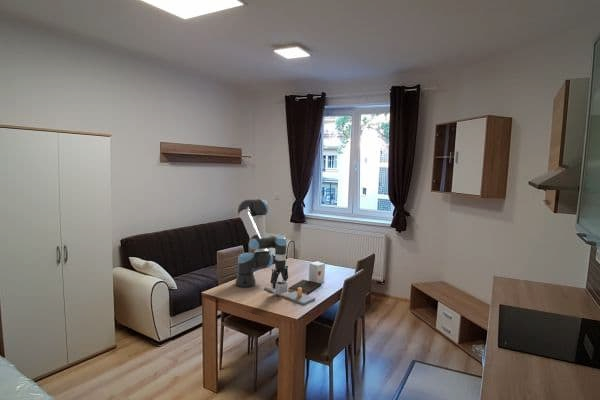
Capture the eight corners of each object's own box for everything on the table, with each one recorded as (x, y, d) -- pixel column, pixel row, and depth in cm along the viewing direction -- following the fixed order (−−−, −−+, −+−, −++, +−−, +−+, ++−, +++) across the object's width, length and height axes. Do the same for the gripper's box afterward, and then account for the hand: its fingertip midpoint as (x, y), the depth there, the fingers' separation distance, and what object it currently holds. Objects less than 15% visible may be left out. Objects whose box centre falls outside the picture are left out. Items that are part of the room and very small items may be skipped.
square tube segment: (271, 291, 238) (271, 282, 237) (279, 288, 244) (279, 280, 243) (279, 294, 233) (279, 286, 232) (287, 291, 239) (287, 283, 238)
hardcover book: (287, 291, 248) (288, 288, 248) (302, 282, 268) (302, 279, 268) (307, 295, 241) (307, 292, 240) (321, 286, 261) (321, 283, 261)
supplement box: (316, 284, 263) (317, 265, 261) (308, 281, 269) (309, 262, 268) (324, 282, 269) (325, 263, 267) (316, 279, 275) (317, 261, 274)
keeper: (283, 297, 234) (284, 287, 233) (295, 293, 243) (295, 282, 242) (303, 305, 222) (304, 294, 222) (315, 300, 232) (315, 289, 231)
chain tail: (262, 289, 249) (262, 288, 249) (266, 288, 252) (266, 286, 252) (274, 293, 241) (274, 292, 241) (278, 292, 244) (278, 290, 244)
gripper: (273, 263, 225) (272, 296, 228) (294, 257, 241) (293, 288, 244) (265, 261, 230) (264, 293, 233) (286, 255, 246) (285, 285, 249)
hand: (279, 290), depth 238 cm, fingers closed on square tube segment, 8 cm apart
